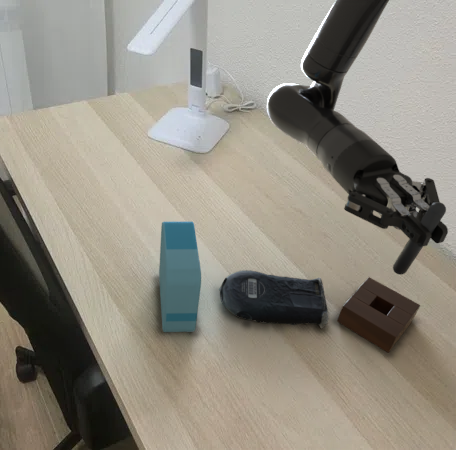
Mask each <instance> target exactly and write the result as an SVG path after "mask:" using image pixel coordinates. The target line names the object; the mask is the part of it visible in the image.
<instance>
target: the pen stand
mask: <svg viewBox="0 0 456 450" xmlns="http://www.w3.org/2000/svg"><path fill="white" fill-rule="evenodd" d="M420 307H421V305H420V304H419V303H417V302H415V301H414V300H412V299H410V298H408V297H406V296H404V295H402V294H401V293H399V292H398V291H396V290H393V289H391V288H390V287H388V286H386V285H384V284H383V283H381V282H379V281H377V280H375V279H373V278H372V277H369V276H368V277H367V278H366V279H365V280H364V281H363V283H362V284H360V286H359V287H357V290H355V292H354V293H352V294H351V296H350V297H349V298H348V299H347V300H346V302H345V303H344V304H343V305H342V306H341V309H340V312H339V315H338V317H337V320H336V322H337V323H339V324H341V325H342V326H344V327H345V328H346V329H349V330H350V331H352V332H353V333H355V334H357V335H359V336H360V337H361V338H364V339H365V340H367V341H368V342H370V343H371V344H373V345H375V346H377V347H378V348H379V349H381V350H383V351H385V352H387V353H390V351H391V350H392V349H393V348H394V347H395V345H396V344H397V342H398V341H399V340H400V338H401V337H402V335H403V334H404V333H405V331H406V330H407V329H408V327H409V326H410V324H411V323H412V322H413V321H414V318H415V316H416V315H417V313H418V311H419V309H420Z"/></svg>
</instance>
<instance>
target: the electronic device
mask: <svg viewBox="0 0 456 450" xmlns="http://www.w3.org/2000/svg"><path fill="white" fill-rule="evenodd" d="M218 290H219V297H220V302H221V303H222V305H223V306H224V307H225V309H226V310H228V312H230V313H231V314H232V315H233V316H235V317H237V318H240V319H242V320H248V321H251V322H252V321H253V322H256V323H262V324H277V325H278V324H279V325H308V324H310V325H312V324H314V325H317V326H319V327H320V329H324V327H326V326H327V325H328V323H329V320H330V317H329V313H328V306H327V301H326V295H325V289H324V285H323V279H322V277H316V278H312V279H306V278H299V277H298V278H297V277H290V276H289V277H288V276H279V275H274V274H266V273H263V272H260V271H255V270H249V269H247V270H244V269H243V270H242V269H241V270H238V271H235V272H233V273H230V274H229V275H227V276H226V277H225V278H224V280H223V281H222V283H221V286H220V287H219V289H218Z"/></svg>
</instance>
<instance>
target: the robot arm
mask: <svg viewBox="0 0 456 450" xmlns="http://www.w3.org/2000/svg"><path fill="white" fill-rule="evenodd" d="M389 2H390V0H335V1H334V3H333V4H332V6H331V8H330V10H329V11H328V13H327V14H326V16H325V18H324V19H323V21H322V22H321V25H320V26H319V28H318V30H317V32H316V33H315V34H314V36H313V38H312V40H311V42H310V44H309V45H308V48H307V49H306V51H305V52H304V55H303V57H302V59H301V63H300V68H301V71H302V72H303V74H304V75H305V76H306V77H307V78H308V79H309V80H311V81H313V82H312V83H311V85H304V84H296V83H282V84H280V85H278V86H276V87H275V88H273V89H272V91H271V92H270V93H269V95H268V97H267V101H266V111H267V116H268V117H269V119H270V122H271V123H272V125H274V127H275V128H277V130H279V131H280V132H282V133H284V134H285V135H286V136H288V137H289V138H291V139H292V140H293V141H296V142H298V143H300V144H302V145H303V146H305V147H307V149H308V150H309V151H310V152H311V153H312V154H313V155H314V156H315V157H316V159H317V160H318V161H319V162H320V163H321V165H322V166H323V168H324V170H325V171H326V172H327V173H328V174H329V175H330V176H331V177H332V178H333V179H334V181H335V182H336V183H337V184H338V185H339V186H340V187H341V188H342V189H343V190H344V191H345V192H346V194H347V198H346V202H345V204H344V207H343V209H344V211H345V212H347V213H350V214H352V215H353V216H356V217H357V218H360V219H361V220H364V221H366V222H368V223H370V224H372V225H373V226H376V227H378V228H380V229H383V230H387V229H388V228H389V227H393V228H394V229H396V230H400V231H401V232H402V233H403V234H404V235H405V236H406V237H407V238H408V240H409V239H410V240H411V241H412V242H414V243H416V244H418V246H420V247H422V248H424V247H427V246H428V244H429V243H430V240H432V241H433V242H434V243H435V244H440V243H444V241H446V237H447V236H448V233H449V231H448V230H449V229H448V226H447V225H446V224H445V223H444V222H443V221H442V220H440V222H439V223H438V225H437V226H436V228H435V229H434V231H433V232H432V234H431V232H430V231H429V230H428V229H427V228H426V227H425V226H423V225H422V223H421V222H420V221H421V220H422V218H423V217H424V215H425V213H426V212H427V210H428V209H429V207H430V205H431V204H433V203H435V202H440V198H439V195H438V191H437V187H436V183H435V180H434V179H433V178H430V177H426V178H424V180H423V182H422V181H415V180H413V179H412V177H410V176H409V175H407V174H404V173H403V172H401V171H400V169H399V167H398V163H397V160H396V159H395V158H394V157H393V156H392V155H391V154H390V152H388V151H387V150H385V149H384V148H383V147H382V146H381V145H380V144H379V143H378V142H377V141H376V140H374V139H373V138H372V137H371V136H370V135H368V134H367V133H366V132H365V131H363V130H362V129H360V128H358V127H357V126H355V124H354V123H353V122H351V121H350V120H349V119H348V118H347V117H346V116H345V115H343V114H342V113H340V112H339V111H337V110H335V108H336V106H337V105H336V104H337V102H338V98H339V95H340V92H341V90H342V87H343V82H344V79H345V78H346V77H345V76H346V75H347V73H348V72H349V70H350V69H351V68H352V66H353V65H354V63H355V61H356V59H357V58H358V56H359V55H360V54H361V52H362V50H363V49H364V47H365V45H366V43H367V41H369V38H370V37H371V34H373V33H372V32H373V31H374V29H375V27H376V26H377V23H378V22H379V19H380V18H381V16H382V15H383V12H384V10H385V9H386V7H387V5H388V3H389ZM440 203H441V202H440ZM417 209H418V211H417ZM374 212H376V213H377V214H378V215H379V216H380V217H379V216H377V215H375V214H374Z"/></svg>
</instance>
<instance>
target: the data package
mask: <svg viewBox="0 0 456 450" xmlns="http://www.w3.org/2000/svg"><path fill="white" fill-rule="evenodd" d="M160 229H161V230H160V250H159V251H160V252H159V265H158V267H159V268H158V269H159V270H158V278H159V279H158V280H159V281H158V282H159V295H160V296H159V297H160V299H159V300H160V313H161V314H160V315H161V327H162V328H161V329H162V332H164V333H193V332H195V331H196V328H197V320H198V311H199V304H200V303H199V302H200V295H201V287H202V270H201V269H202V268H201V263H200V255H199V248H198V242H197V235H196V229H195V223H194V222H193V221H162V222H161V228H160Z"/></svg>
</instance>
